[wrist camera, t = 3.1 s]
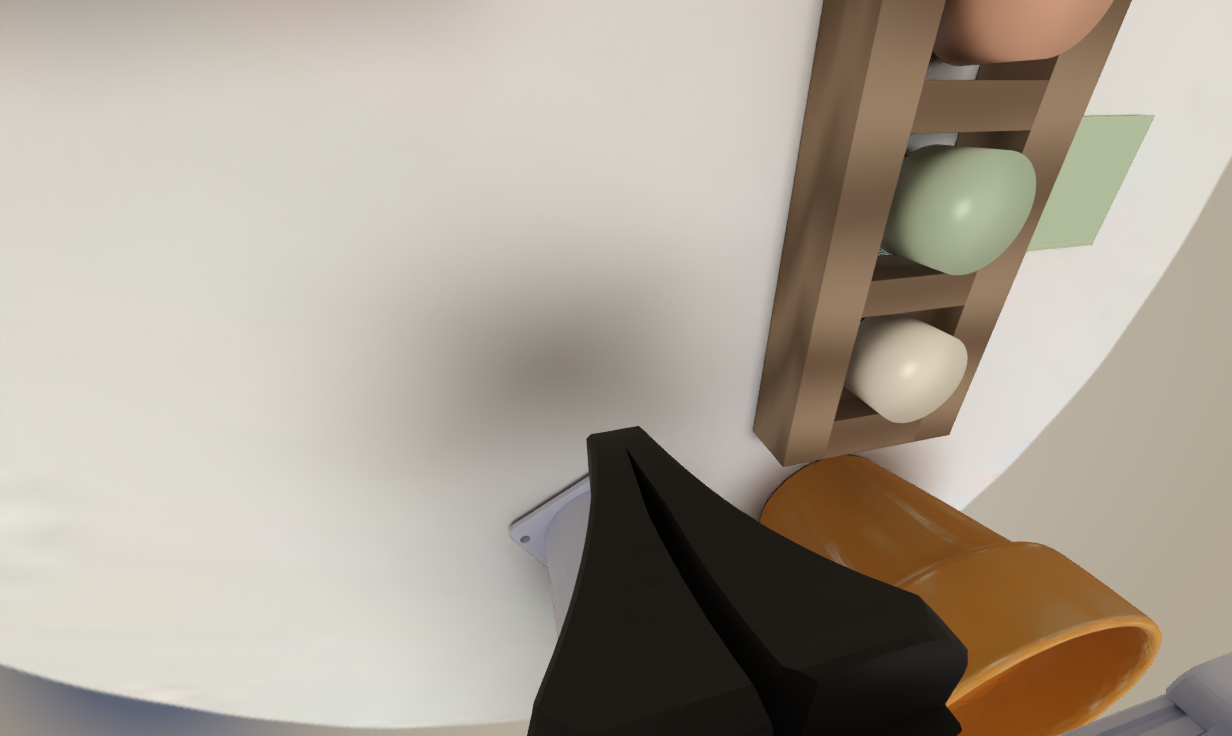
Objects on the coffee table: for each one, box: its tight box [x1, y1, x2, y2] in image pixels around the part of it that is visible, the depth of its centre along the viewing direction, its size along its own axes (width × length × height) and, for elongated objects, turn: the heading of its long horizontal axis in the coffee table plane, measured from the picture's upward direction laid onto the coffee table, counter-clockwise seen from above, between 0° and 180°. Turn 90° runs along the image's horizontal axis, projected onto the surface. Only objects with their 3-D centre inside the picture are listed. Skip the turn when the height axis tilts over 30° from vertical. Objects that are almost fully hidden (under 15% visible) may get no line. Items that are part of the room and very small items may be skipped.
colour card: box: [1027, 115, 1155, 251], centre depth 23 cm, size 6×6×1 cm
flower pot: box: [760, 455, 1161, 736], centre depth 25 cm, size 14×14×13 cm
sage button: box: [880, 144, 1036, 275], centre depth 18 cm, size 4×4×3 cm
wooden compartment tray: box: [753, 0, 1132, 467], centre depth 20 cm, size 24×10×3 cm, turn 1°
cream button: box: [843, 313, 967, 423], centre depth 22 cm, size 4×4×3 cm
